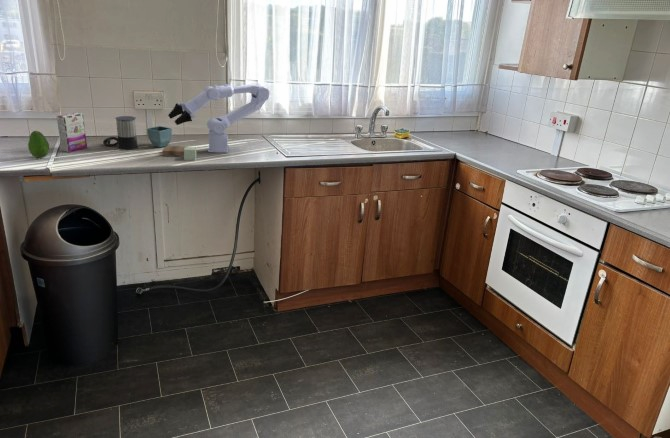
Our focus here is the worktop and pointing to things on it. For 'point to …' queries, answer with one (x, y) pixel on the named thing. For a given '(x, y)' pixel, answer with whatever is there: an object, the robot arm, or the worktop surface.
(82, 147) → the candy bar box
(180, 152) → the base slab
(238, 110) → the robot arm
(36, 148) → the avocado
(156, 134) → the flower pot
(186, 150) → the cube
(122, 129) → the milk frother
